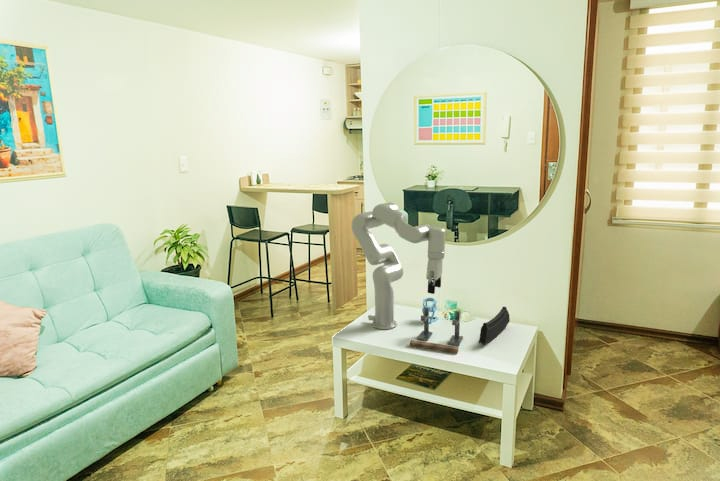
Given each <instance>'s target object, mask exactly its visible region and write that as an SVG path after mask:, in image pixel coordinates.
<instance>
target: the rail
mask: <svg viewBox="0 0 720 481" xmlns="http://www.w3.org/2000/svg"><path fill="white" fill-rule="evenodd" d="M414 347H416V348H415V349H421V348H422V349H423V350H428V349H429V350H428V351H435V352H440V353H443V352H444V353H448V354H454V355H455V354H456V355H457V354H458V353H459V348H460V347H459V346H457V345H450V344H441V343H433V342H428V341H423V340H414V339H411V340H410V341H409V348H414Z"/></svg>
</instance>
